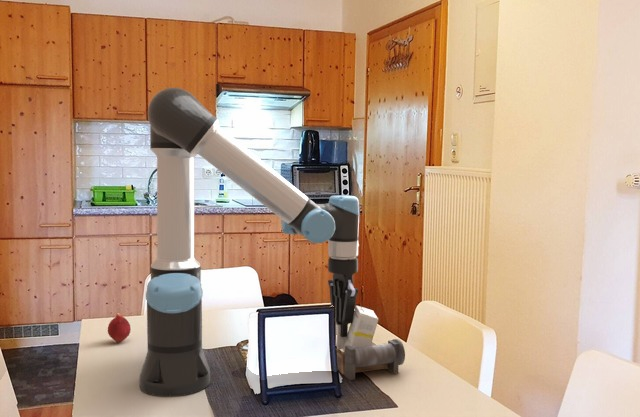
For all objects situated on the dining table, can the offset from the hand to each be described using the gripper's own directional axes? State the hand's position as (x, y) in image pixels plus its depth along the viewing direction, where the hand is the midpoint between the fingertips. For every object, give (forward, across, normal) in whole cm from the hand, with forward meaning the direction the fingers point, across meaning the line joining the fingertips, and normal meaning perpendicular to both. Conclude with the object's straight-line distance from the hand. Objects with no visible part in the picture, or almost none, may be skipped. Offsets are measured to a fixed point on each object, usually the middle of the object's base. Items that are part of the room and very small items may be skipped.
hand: (341, 348), depth 155 cm
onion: (+2, +30, +52) cm, 59 cm away
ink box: (+1, -5, -1) cm, 5 cm away
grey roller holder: (+1, -8, -1) cm, 8 cm away
